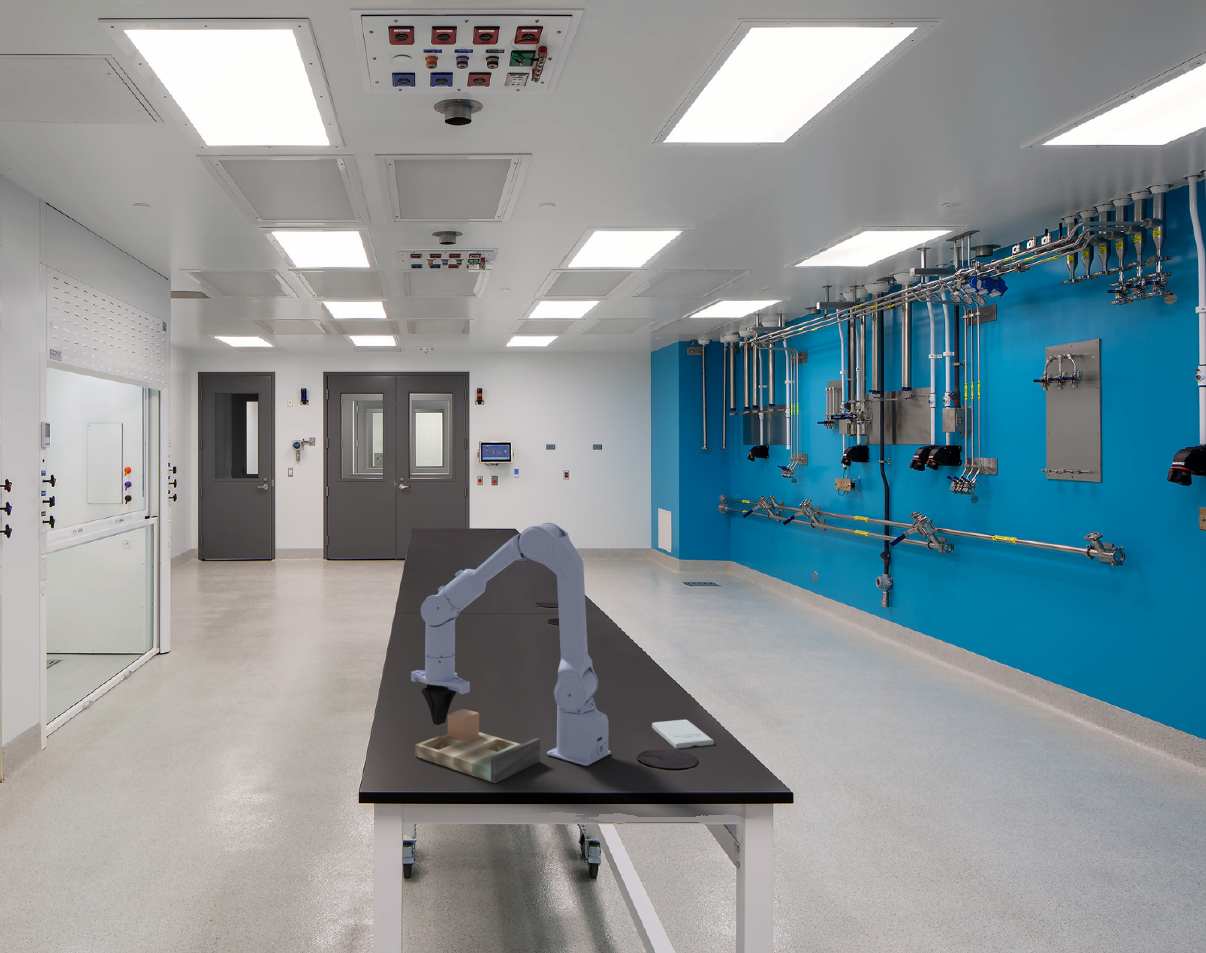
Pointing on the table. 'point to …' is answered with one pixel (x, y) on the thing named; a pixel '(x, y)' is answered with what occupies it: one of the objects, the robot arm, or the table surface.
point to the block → (463, 724)
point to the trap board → (480, 755)
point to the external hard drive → (682, 733)
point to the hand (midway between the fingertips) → (439, 723)
